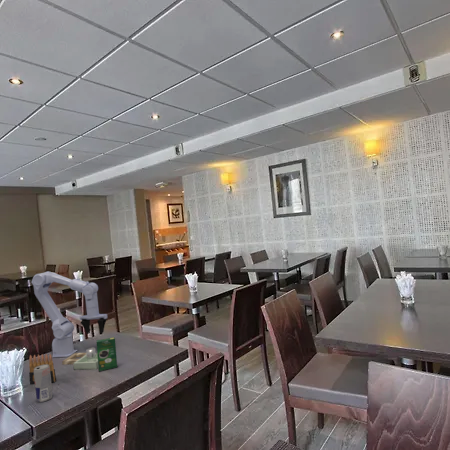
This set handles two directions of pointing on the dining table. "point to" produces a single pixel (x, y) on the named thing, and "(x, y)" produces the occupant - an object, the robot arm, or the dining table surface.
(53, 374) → the ammunition clip
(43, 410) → the dining table surface
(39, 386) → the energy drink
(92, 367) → the tray
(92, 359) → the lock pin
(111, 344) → the coffee box
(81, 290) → the robot arm
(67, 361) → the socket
